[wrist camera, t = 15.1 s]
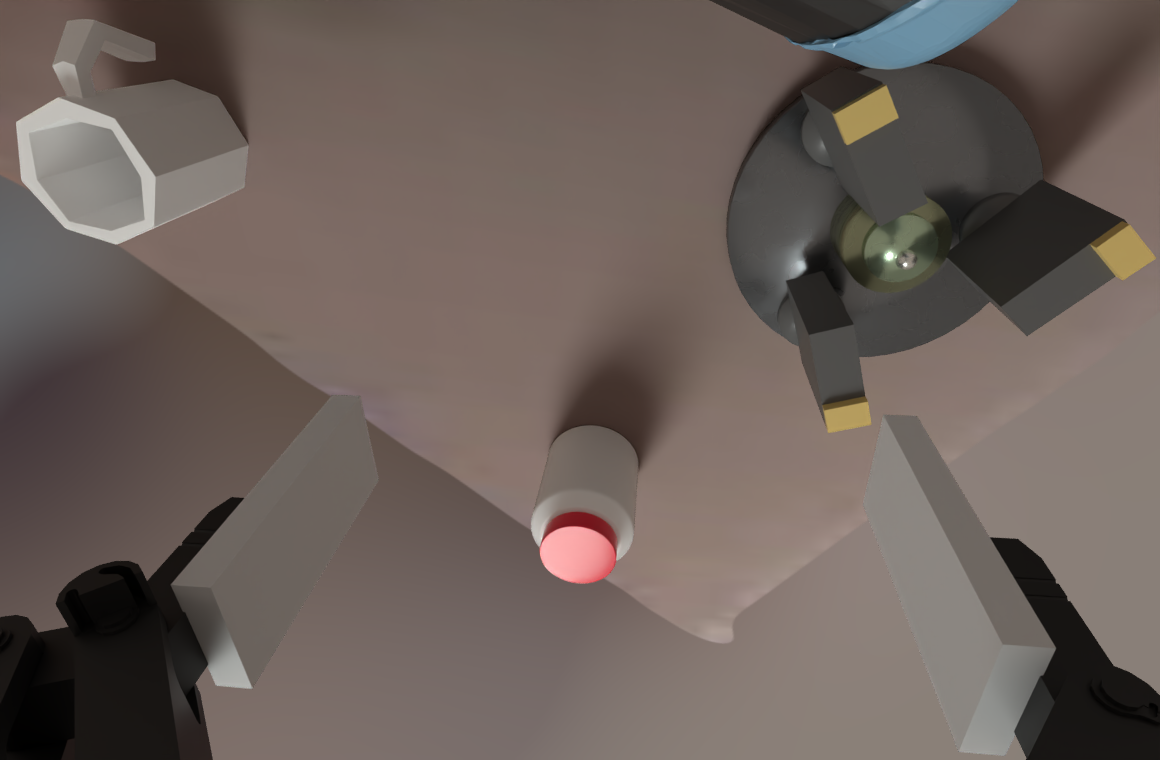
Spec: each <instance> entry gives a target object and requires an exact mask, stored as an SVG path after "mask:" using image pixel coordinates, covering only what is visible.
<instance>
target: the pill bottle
mask: <svg viewBox="0 0 1160 760" xmlns="http://www.w3.org/2000/svg"><path fill="white" fill-rule="evenodd" d="M638 467H639V464H638V457H637V454H636V452H635V450H634V448H633V447H632V445H631V443H630V442H629V441H628V440H627V439H626V438H625V437H623V436H622V435H620V434H619V433H617V432H615V431H613V430H611V429H609V428H605V427H601V426H594V425H586V426H579V427H575V428H572V429H570V430H567V431H565V432H564V433H562V434H561V435H560V436H558V437H557V439H556V440H555V441H554V442H553V444H552V446H551V447H550V450H549V454H548V457H547V461H546V465H545V469H544V472H543V476H542V480H541V484H540V487H539V491H538V495H537V499H536V503H535V506H534V510H533V514H532V518H531V530H532V534H533V538H534V540H535V542H536V543H537V545H538V546H539V547H540V557H541V560H542V562H543V564H544V566H545V567H546V568H547V569H548V570H549V571H550V572H551V573H552V574H553V575H555V576H557V577H559V578H561V579H563V580H565V581H569V582H573V583H591V582H596V581H598V580H601V579H603V578H604V577H606V576H607V575H608V574H609V573H611V571H612V570H613V568H614V566H615V563H616V561H617V560H619V559H620V558H621V557H623V556H624V555H625V554H626V552H627V551H628V550H629V548H630V546H631V544H632V541H633V538H634V528H635V513H636V498H637V483H638Z"/></svg>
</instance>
